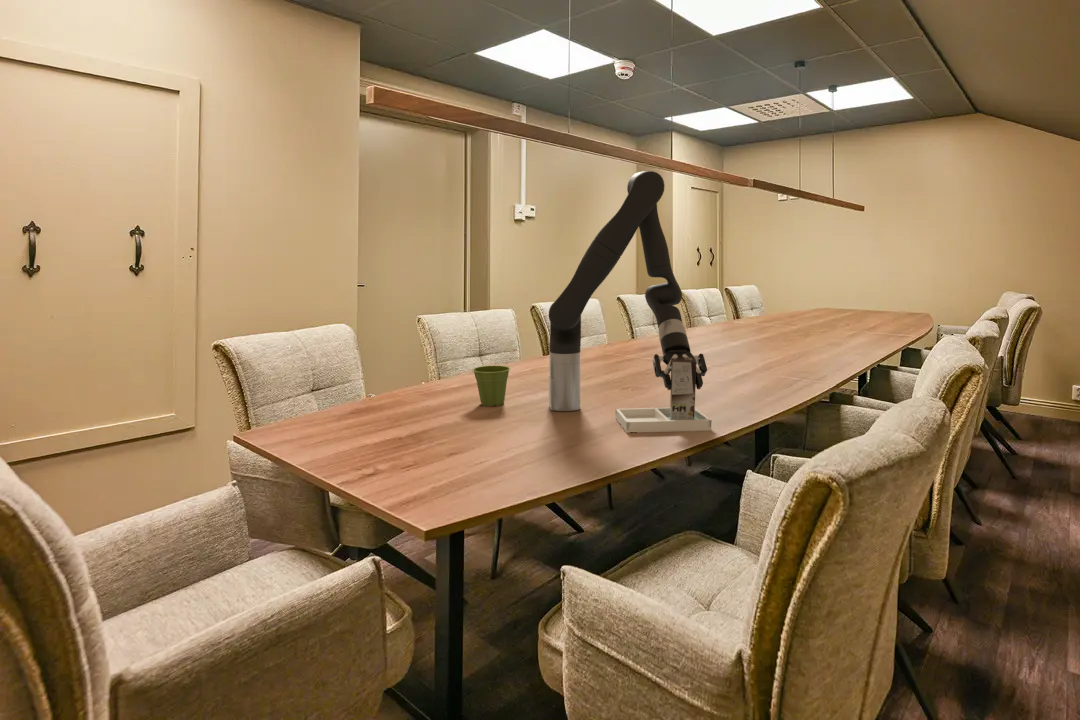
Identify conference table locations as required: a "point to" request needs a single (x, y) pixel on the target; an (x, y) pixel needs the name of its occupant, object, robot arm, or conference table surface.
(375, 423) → the conference table surface
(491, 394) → the plant pot
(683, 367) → the coffee box
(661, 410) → the tray
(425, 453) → the conference table surface
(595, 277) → the robot arm
